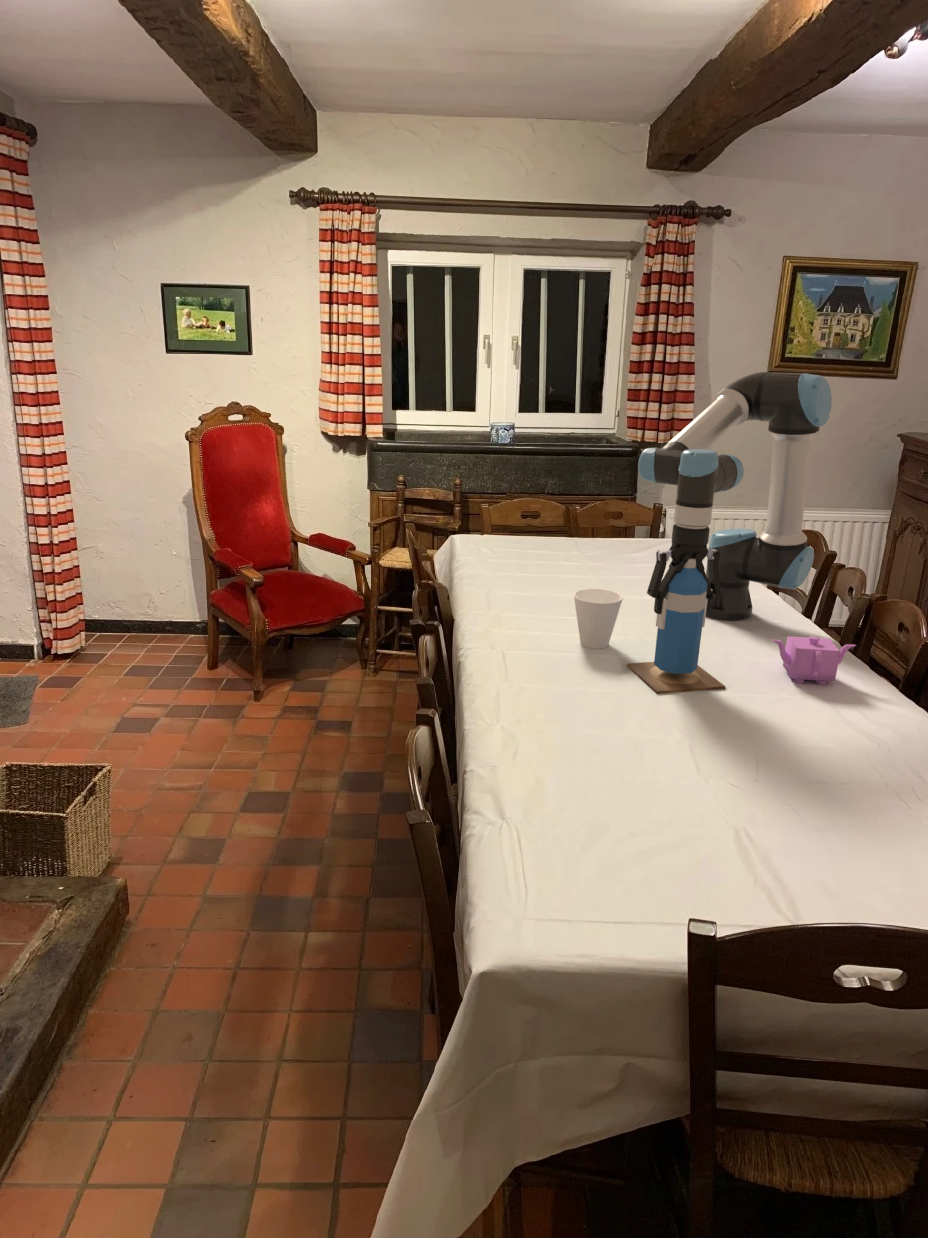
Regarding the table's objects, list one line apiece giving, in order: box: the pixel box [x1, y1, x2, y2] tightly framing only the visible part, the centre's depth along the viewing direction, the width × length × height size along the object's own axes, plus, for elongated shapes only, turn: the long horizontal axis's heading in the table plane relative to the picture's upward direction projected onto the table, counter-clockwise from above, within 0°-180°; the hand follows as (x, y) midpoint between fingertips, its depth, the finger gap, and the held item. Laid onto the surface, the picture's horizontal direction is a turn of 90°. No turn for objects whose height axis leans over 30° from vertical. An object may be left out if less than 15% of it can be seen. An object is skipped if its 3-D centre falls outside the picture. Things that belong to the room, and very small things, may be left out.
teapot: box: [771, 635, 857, 686], centre depth 187 cm, size 18×13×10 cm
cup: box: [573, 588, 624, 650], centre depth 204 cm, size 12×12×12 cm
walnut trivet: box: [626, 661, 726, 695], centre depth 187 cm, size 16×16×1 cm
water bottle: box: [653, 558, 707, 674], centre depth 182 cm, size 9×9×25 cm
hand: (679, 626), depth 183 cm, fingers closed on water bottle, 9 cm apart
